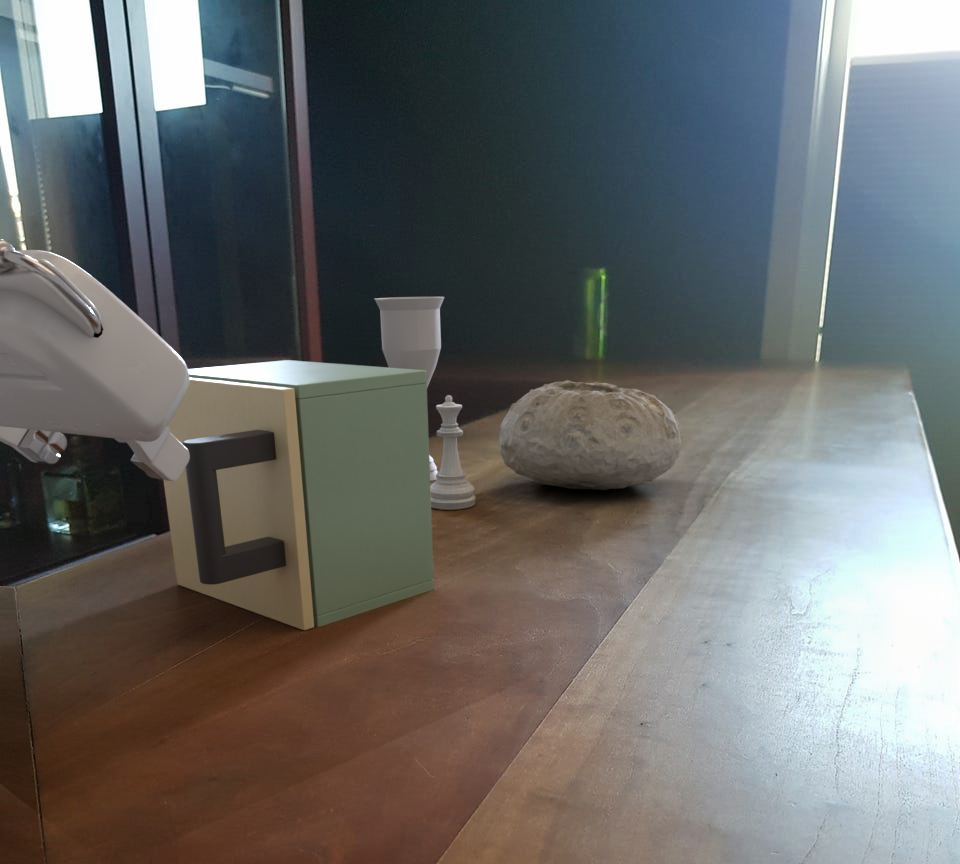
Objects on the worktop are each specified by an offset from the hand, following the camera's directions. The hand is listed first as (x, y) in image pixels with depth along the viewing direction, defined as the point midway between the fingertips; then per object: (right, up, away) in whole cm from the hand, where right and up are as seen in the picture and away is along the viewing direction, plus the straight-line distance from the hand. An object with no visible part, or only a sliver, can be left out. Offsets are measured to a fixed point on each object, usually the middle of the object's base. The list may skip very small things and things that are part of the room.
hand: (111, 460), depth 49 cm
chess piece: (+16, +3, +42) cm, 45 cm away
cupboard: (+7, -5, +19) cm, 21 cm away
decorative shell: (+29, +6, +49) cm, 57 cm away
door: (+1, -7, +13) cm, 15 cm away
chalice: (+12, +8, +55) cm, 57 cm away
